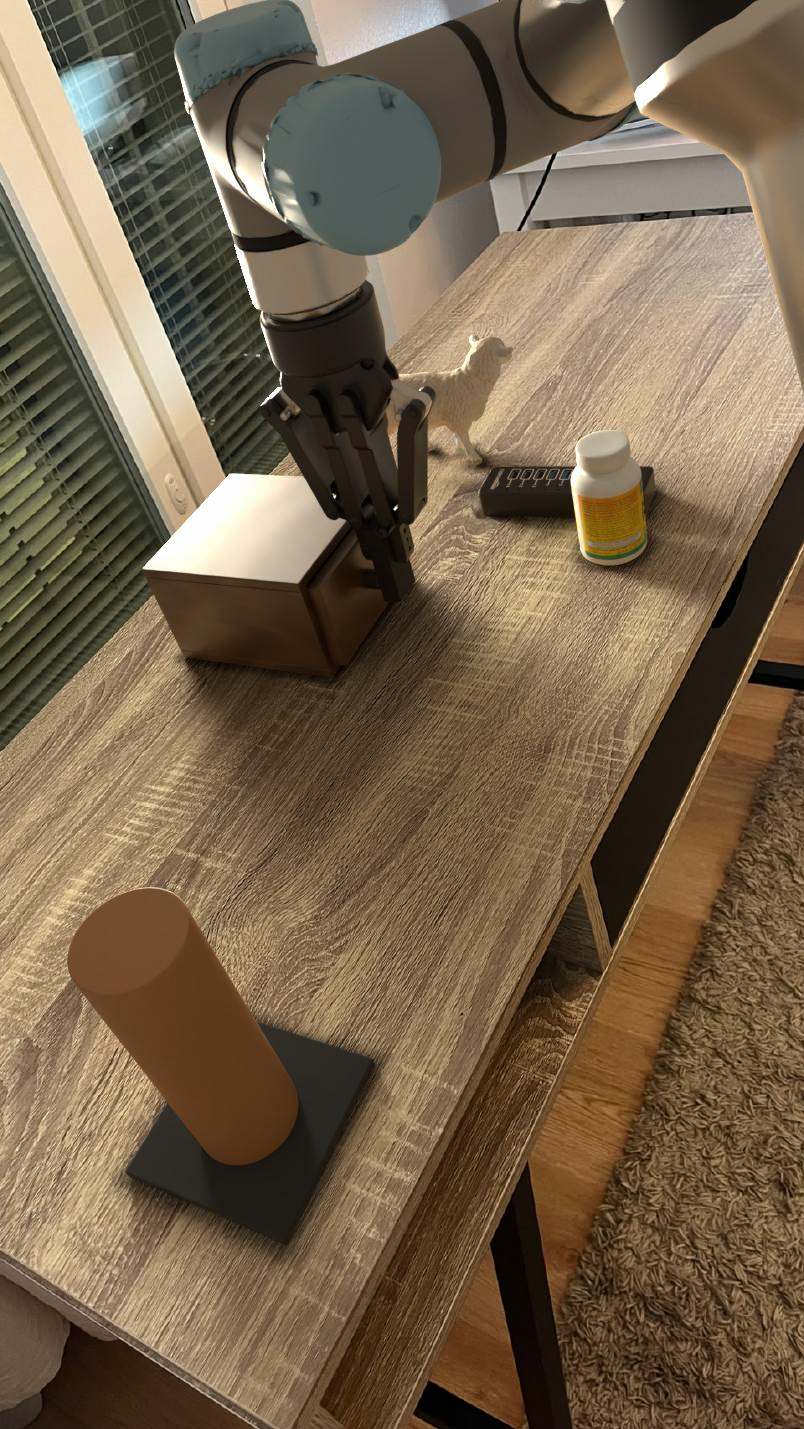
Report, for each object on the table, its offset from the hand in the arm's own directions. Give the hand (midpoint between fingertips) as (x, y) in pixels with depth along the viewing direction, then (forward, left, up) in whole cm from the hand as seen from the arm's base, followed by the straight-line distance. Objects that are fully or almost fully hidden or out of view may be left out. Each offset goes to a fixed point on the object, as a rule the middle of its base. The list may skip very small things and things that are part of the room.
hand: (400, 591), depth 83 cm
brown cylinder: (-9, +40, -3) cm, 41 cm away
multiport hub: (-7, -18, -4) cm, 20 cm away
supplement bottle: (-13, -12, -4) cm, 18 cm away
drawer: (+9, 0, -3) cm, 9 cm away
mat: (-9, +40, -4) cm, 41 cm away
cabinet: (+11, 0, -4) cm, 11 cm away
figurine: (+7, -25, -4) cm, 26 cm away
